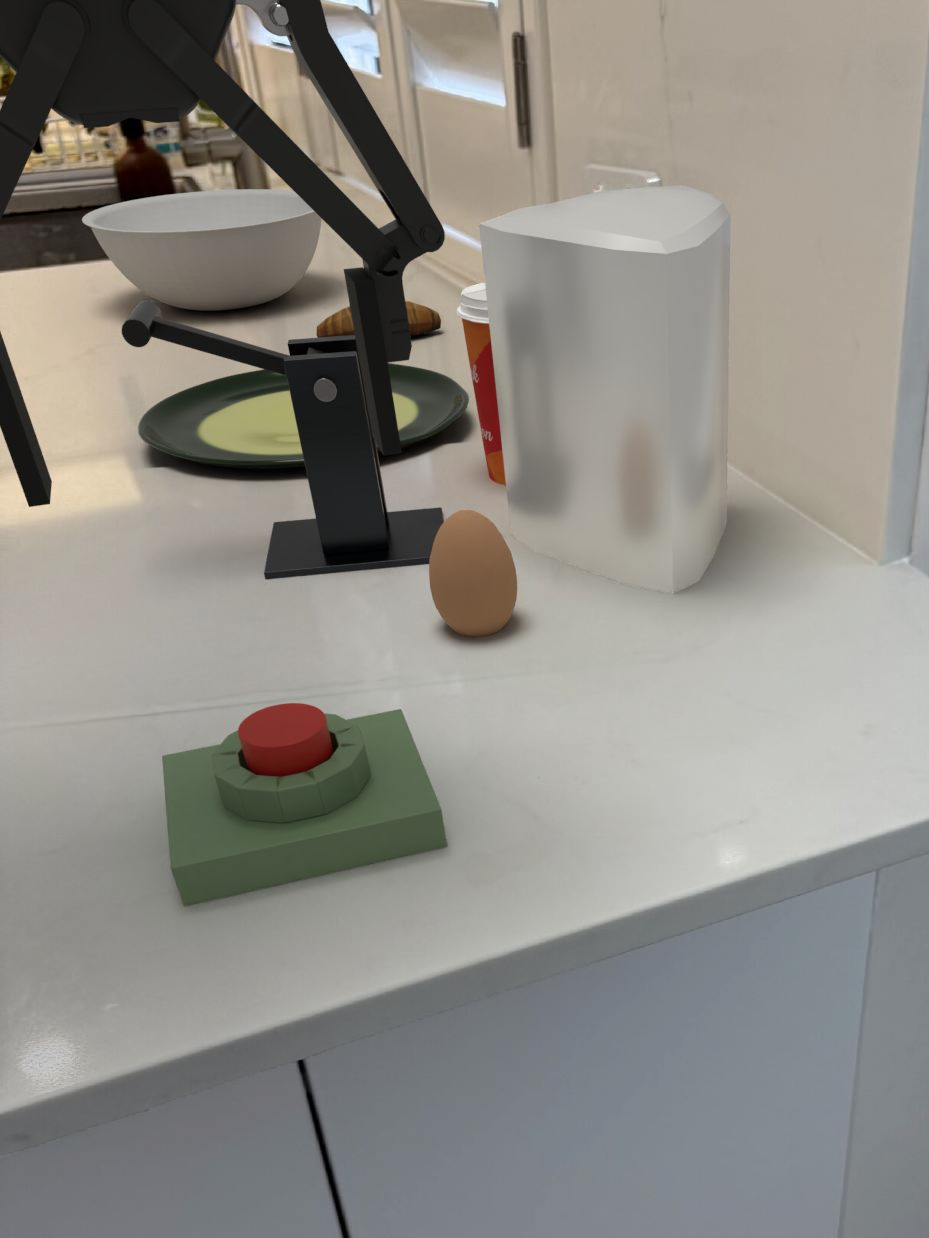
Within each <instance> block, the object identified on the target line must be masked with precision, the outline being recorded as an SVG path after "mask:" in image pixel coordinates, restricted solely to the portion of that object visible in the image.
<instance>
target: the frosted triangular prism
mask: <svg viewBox="0 0 929 1238" xmlns="http://www.w3.org/2000/svg"><path fill="white" fill-rule="evenodd" d="M478 227H479V238H480V247H481V256H482V266H483V276H484V283H485V287H486V296H487V306H488V316H489V325H490V335H491V345H492V354H493V364H494V374H495V384H496V393H497V403H498V413H499V422H500V432H501V442H502V451H503V461H504V471H505V480H506V485H505V489H506V499H507V508H508V509H507V510H508V517H509V518H508V519H509V527H510V536H511V537H512V538H513V539H515V540H516V541H518V542H519V543H520V544H522V545H523V546H525V547H527V548H528V549H529V550H530V551H532V552H535V553H538V554H541V555H543V556H546V557H548V558H551V559H554V560H557V561H560V562H562V563H564V564H567V565H570V566H573V567H576V568H579V569H581V570H584V571H587V572H590V573H592V574H595V575H598V576H601V577H603V578H606V579H608V580H612V581H614V582H618V583H620V584H622V585H626V586H628V587H632V588H638V589H643V590H648V591H652V592H653V591H654V592H657V593H658V592H660V593H665V594H670V595H675V594H677V593H678V592H680V591H683V590H684V589H686V588H688V587H690V586H692V585H695V584H696V583H698V582H700V581H701V579H702V577H703V575H704V574H705V572H706V571H707V569H708V567H709V565H710V563H711V562H712V560H713V558H714V557H715V554H716V552H717V550H718V547H719V545H720V542H721V541H722V540H721V539H722V538H723V535H724V533H725V531H726V528H727V526H728V459H729V458H728V454H729V453H728V452H729V451H728V449H729V448H728V447H729V436H728V435H729V376H730V375H729V374H730V373H729V370H730V369H729V368H730V367H729V364H730V362H729V361H730V285H731V284H730V283H731V282H730V281H731V279H730V277H731V276H730V275H731V274H730V273H731V271H730V270H731V266H730V265H731V213H730V211H729V210H728V209H727V207H726V205H725V204H724V203H723V202H722V201H721V200H719V199H718V198H716V197H715V196H714V195H713V194H711V193H709V192H706V191H703V190H700V189H697V188H694V187H691V186H688V185H684V184H679V185H664V186H663V185H662V186H661V185H660V186H647V187H645V186H644V187H635V188H634V187H633V188H625V189H624V188H621V189H609V190H600V191H595V192H591V193H588V194H587V193H586V194H583V195H579V196H575V197H571V198H567V199H563V200H559V201H555V202H550V203H544V204H543V203H542V204H538V205H532V206H531V205H530V206H525V207H519V208H516V209H513V210H512V211H509V212H506V213H504V214H501V215H499V216H496V217H494V218H490V219H488V220H485V221H482V222H479V224H478Z"/></svg>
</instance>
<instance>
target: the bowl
mask: <svg viewBox="0 0 929 1238" xmlns="http://www.w3.org/2000/svg"><path fill="white" fill-rule="evenodd" d="M81 221H82V224H84V225H86V226H87V227H89V228H90V229H91V231H92V233H93V235H94V237H95V238H96V240H97V243H98V244H99V245H100V247H101V249H102V251H103V252H104V253H105V255H106V256H107V257H108V259H109V260H110V261H111V263H112V264H113V265H114V266H115V267H116V268H117V270H118V271H119V272H120V273H121V274H122V275H123V276H124V278H126V279H127V280H128V281H129V282H130V283H131V284H132V285H134V286H135V287H136V288H138V290H140V291H141V292H143V293H144V294H146V295H148V296H149V297H151V298H153V299H154V300H156V301H158V302H161V303H163V304H165V305H169V306H172V307H174V308H179V309H183V310H184V309H185V310H192V311H201V312H202V311H207V312H209V311H210V312H212V311H229V310H238V309H245V308H249V307H255V306H258V305H262V304H265V303H268V302H272V301H273V300H275V299H278V298H279V297H281V296H283V295H284V294H286V293H288V292H289V291H290V290H291V289H292V288H294V287H295V286H296V285H297V284H298V283H299V282H300V280H301V279H302V278H303V276H304V275H305V274H306V272H307V270H308V269H309V267H310V265H311V263H312V261H313V259H314V256H315V254H316V251H317V247H318V243H319V239H320V234H321V228H322V218H321V217H320V216H319V215H318V214H317V213H316V212H315V211H314V210H313V209H312V208H311V207H310V206H309V205H308V204H307V203H306V202H305V201H304V200H303V199H302V198H301V197H300V196H299V195H298V194H297V193H295V192H294V191H293V190H291V189H272V188H271V189H268V188H257V189H256V188H254V189H253V188H246V189H244V188H243V189H242V188H241V189H240V188H239V189H217V190H202V191H200V190H199V191H191V192H190V191H189V192H180V193H172V194H171V193H170V194H163V195H156V196H149V197H143V198H138V199H131V200H127V201H122V202H117V203H113V204H110V205H105V206H102V207H99V208H97V209H94V210H92V211H89V212H88V213H85V214H84V216H83V217H82V218H81Z"/></svg>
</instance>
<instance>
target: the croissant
mask: <svg viewBox="0 0 929 1238" xmlns="http://www.w3.org/2000/svg"><path fill="white" fill-rule="evenodd" d="M405 303H406V310H407V317H408V323H409V331H410V337H411V336H418V335H423V334H429V333H432V332H434V331H438V330H440V329H441V328H442V327H441V326H442V319H441V316H440V313H439V311H435V310H434V309H432V308H430V307H428V306H426V305H423V304H419V303H416V302H412V301H409V300H408V301H407V300H405ZM349 335H355V332H354V326H353V321H352V315H351V309H350V306H347V307H344V308H342V309H340V310H338V311H337V312H334V313H333V314H332V315H329V316H328V317H326V318H325V319H324V320H323V321H321V322H320V323H319V324H318V325H317V326H316V338H320V337H334V336H349Z"/></svg>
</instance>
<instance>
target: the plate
mask: <svg viewBox="0 0 929 1238" xmlns="http://www.w3.org/2000/svg"><path fill="white" fill-rule="evenodd" d="M388 369H389V375H390V382H391V388H392V394H393V400H394V407H395V413H396V419H397V425H398V432H399V438H400V444H401V449H402V448H406V447H408V446H412V445H413V444H416V443H418V442H421V441H423V440H426V439H427V438H430V437H432V436H434V435H436V434H438V433H440V432H441V431H443V430H445V428H447V427H449V426H450V425H451V424H452V423H453V422H455V421H456V420H457V419H458V418H460V417H461V416H462V415H463V413H464V412H466V410H467V408H468V406H469V403H470V396H469V394H468V392H467V391H466V390H465V388H463V386H462V385H460V384H459V383H458V382H457V381H456V380H454V379H452V377H449V376H447V375H445V374H443V373H440V372H437V371H435V370H430V369H427V368H421V367H417V366H416V367H415V366H411V365H405V364H398V363H393V362H389V363H388ZM137 433H138V436H139V437H140V439H141V440H142V441H143V442H144V443H145V444H147V445H149V446H150V447H152V448H155V449H156V450H159V451H161V452H164V453H166V454H169V455H171V456H174V457H177V458H181V459H185V460H188V461H191V462H194V463H199V464H204V465H209V466H215V467H223V468H224V467H225V468H234V469H235V468H236V469H255V470H258V469H259V470H261V469H262V470H263V469H264V470H265V469H266V470H267V469H273V470H274V469H295V468H305V463H304V458H303V453H302V448H301V443H300V439H299V434H298V429H297V424H296V419H295V414H294V410H293V405H292V400H291V395H290V390H289V385H288V381H287V376H286V375H282V374H279V373H275V372H272V371H268V370H265V369H258V370H253V371H247V372H241V373H237V374H232V375H228V376H223V377H220V378H215V379H213V380H210V381H206V382H202V383H200V384H196V385H194V386H191V387H188V388H185V389H183V390H181V391H178V392H176V393H174V394H171V395H170V396H167V397H165V398H163V399H162V400H160V401H158V402H157V403H156V404H154V405H153V406H152V407H150V408H149V409H148V410H147V411H146V412H145V413H144V414H143V415H142V417H141V418H140V420H139V422H138V426H137ZM376 447H377V453H378V455H383V453H382V452H381V450H380V448H379V447H378V445H377V443H376Z"/></svg>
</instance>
